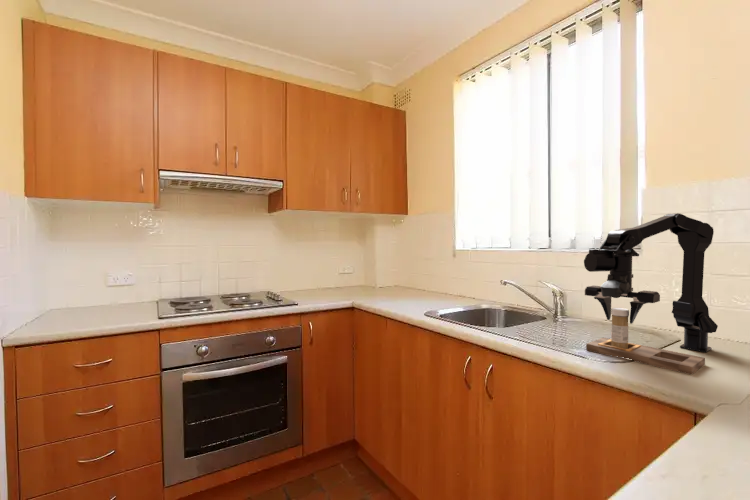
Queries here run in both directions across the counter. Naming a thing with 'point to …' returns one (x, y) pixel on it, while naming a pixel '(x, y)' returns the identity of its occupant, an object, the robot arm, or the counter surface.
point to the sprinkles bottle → (619, 327)
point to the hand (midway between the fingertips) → (619, 321)
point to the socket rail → (649, 356)
